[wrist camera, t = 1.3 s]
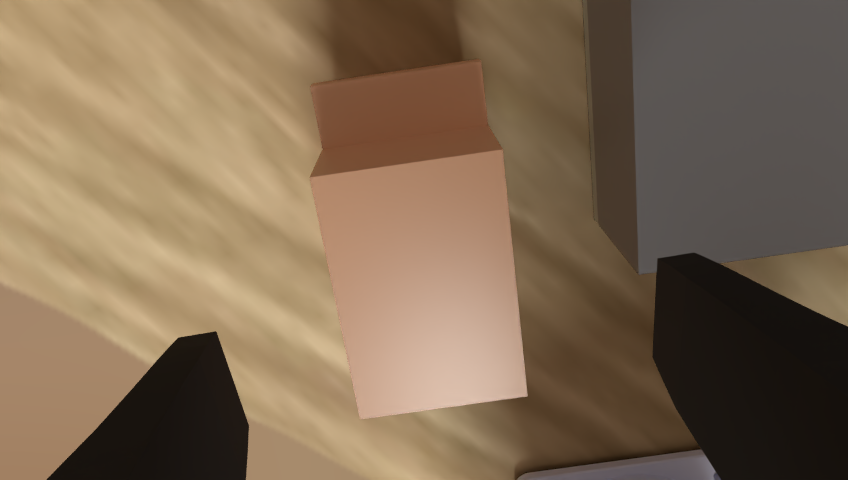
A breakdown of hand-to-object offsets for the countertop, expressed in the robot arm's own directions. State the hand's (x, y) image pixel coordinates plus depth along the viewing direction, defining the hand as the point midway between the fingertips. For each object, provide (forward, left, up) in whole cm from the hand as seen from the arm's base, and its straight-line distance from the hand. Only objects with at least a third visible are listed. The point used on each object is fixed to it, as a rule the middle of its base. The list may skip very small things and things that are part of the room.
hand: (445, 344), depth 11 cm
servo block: (-1, 0, -11) cm, 11 cm away
